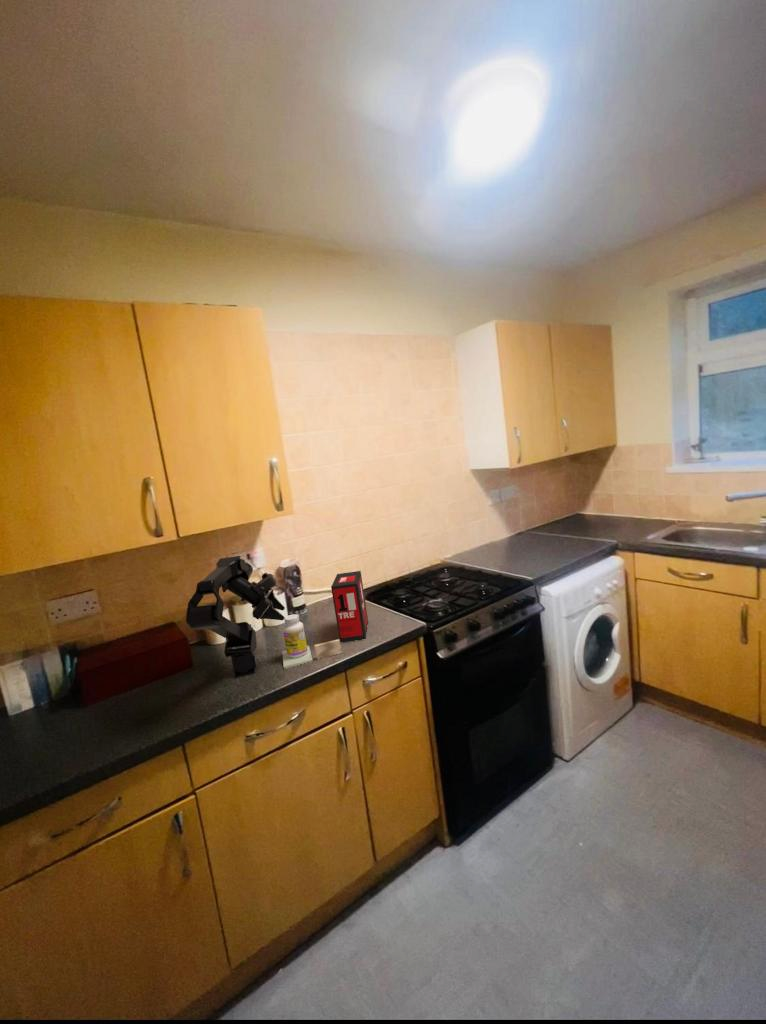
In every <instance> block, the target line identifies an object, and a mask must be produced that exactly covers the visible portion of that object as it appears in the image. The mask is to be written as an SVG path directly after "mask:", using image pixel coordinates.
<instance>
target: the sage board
mask: <svg viewBox="0 0 766 1024" xmlns="http://www.w3.org/2000/svg"><path fill="white" fill-rule="evenodd" d="M281 652H282V653H281V655H282V662H283V663H282V664H283V665H282V666H283V669H284V670H286V669H289V667H290V668H294V667H298V666H301V665H300V664H302V665H305V664H304V663H306V664H308V663H307V662H310V663H312V662H311V661H313V657H312V652H311V648H310V645H307V653H306V654H305V655H303V656H301V657H298V658H290V657H288V655H287V650H283V651H281ZM313 662H314V661H313ZM297 665H298V666H297ZM293 666H294V667H293ZM285 668H286V669H285Z"/></svg>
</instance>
